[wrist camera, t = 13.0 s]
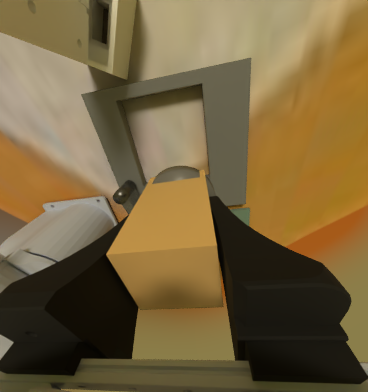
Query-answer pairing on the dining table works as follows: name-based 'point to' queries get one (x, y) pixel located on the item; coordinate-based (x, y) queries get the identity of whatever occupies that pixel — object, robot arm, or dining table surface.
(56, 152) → the dining table surface
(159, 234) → the plug
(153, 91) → the dock plate
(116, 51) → the white wedge bracket
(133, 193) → the retaining bar
